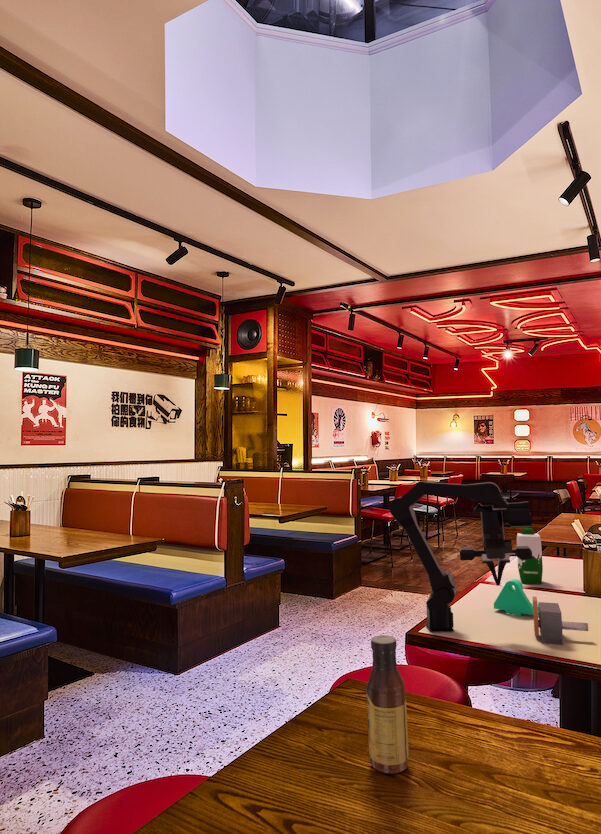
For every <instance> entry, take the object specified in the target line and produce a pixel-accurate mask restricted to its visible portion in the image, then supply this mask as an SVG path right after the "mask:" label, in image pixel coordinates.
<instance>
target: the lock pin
mask: <svg viewBox="0 0 601 834" xmlns="http://www.w3.org/2000/svg"><path fill="white" fill-rule="evenodd" d="M537 597H538V596H532V603H533V615H532V616H533V633H534V636H535V637H536V636H538V637H539V636H540V628H541V625H540V620H539V612H538V598H537ZM562 630H565V631H567V630H568V631H578V632H579V631H580V632H582V631H583V632H589V624H588V622H577V621H564V620H562Z"/></svg>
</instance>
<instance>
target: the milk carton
mask: <svg viewBox="0 0 601 834" xmlns="http://www.w3.org/2000/svg"><path fill="white" fill-rule="evenodd" d="M516 546H528V547H529V548H530V549H531V550H532V558H533V559H522V560H520V559H519V558H518V557H517V556H516V557H517V569H518V574H519V579H520V580H519V581H520V582H521V583H522V585H524V584H528V585H542V584H543V582H542V581H543V571H544V570H543V568H544V565H543V553H542V552H543V551H542V549H543V547H542V539H541V536H540V534H539V533H534V528H532V527H521V533H519V532H517V535H516Z"/></svg>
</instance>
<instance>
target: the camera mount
mask: <svg viewBox="0 0 601 834" xmlns="http://www.w3.org/2000/svg"><path fill="white" fill-rule="evenodd" d="M493 610H499V611H500V610H501V611H505V614H506V613H509V614H508V615H512V614H514V615H513V616H517V615H520V616H519V617H522V616H524V615H529V616H533V602H531V601H530V599H529V598H528V596H527V594H526V593H525V591H524V584H522V582H521V580H518V579H516V578H514V579H511V580H509V581H506V583H504V586H503V587H502V588H501V590H500V592H499V594H498V596H497V597H496V599H495V601H494V603H493ZM538 613H539V606H538ZM523 614H524V615H523ZM521 615H522V616H521Z"/></svg>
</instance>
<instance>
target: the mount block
mask: <svg viewBox="0 0 601 834" xmlns="http://www.w3.org/2000/svg"><path fill="white" fill-rule="evenodd" d="M537 604H538V606H539V612H538V620H540V625H541V628H539V636H540V639H541V640H540V641H541V643H542V644H549V645H551V644H552V645H564V638H563V629H562V621H563V620H562V617H563V616H562V610H561V607H560V604H559V603H557V602H545V601H544V602H543V601H537Z"/></svg>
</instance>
